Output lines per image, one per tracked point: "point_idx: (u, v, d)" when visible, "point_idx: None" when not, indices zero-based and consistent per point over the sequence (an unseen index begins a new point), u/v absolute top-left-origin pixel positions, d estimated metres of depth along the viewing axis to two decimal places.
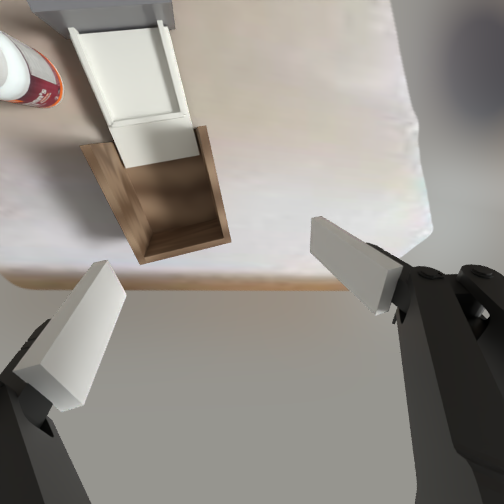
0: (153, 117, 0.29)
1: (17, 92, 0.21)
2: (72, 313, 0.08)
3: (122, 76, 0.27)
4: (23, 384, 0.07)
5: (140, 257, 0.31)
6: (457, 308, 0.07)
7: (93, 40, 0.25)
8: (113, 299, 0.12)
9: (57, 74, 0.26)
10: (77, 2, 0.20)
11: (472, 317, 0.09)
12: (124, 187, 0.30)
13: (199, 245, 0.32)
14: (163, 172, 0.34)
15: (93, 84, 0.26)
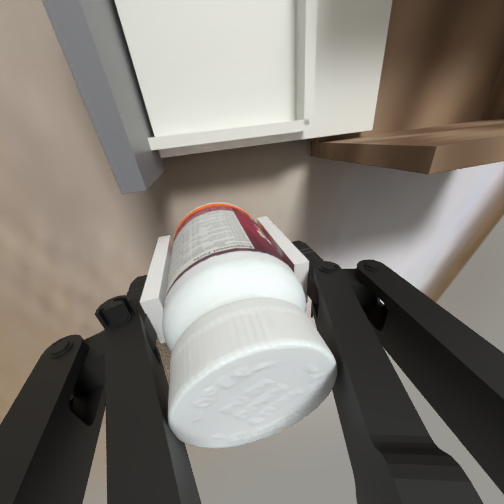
0: None
1: (299, 284, 0.08)
2: (163, 269, 0.11)
3: (215, 66, 0.11)
4: (143, 314, 0.09)
5: None
6: (352, 295, 0.08)
7: (159, 111, 0.12)
8: None
9: (211, 205, 0.13)
10: (88, 64, 0.07)
11: (374, 306, 0.10)
12: (441, 131, 0.13)
13: None
14: (395, 42, 0.14)
15: (239, 135, 0.12)
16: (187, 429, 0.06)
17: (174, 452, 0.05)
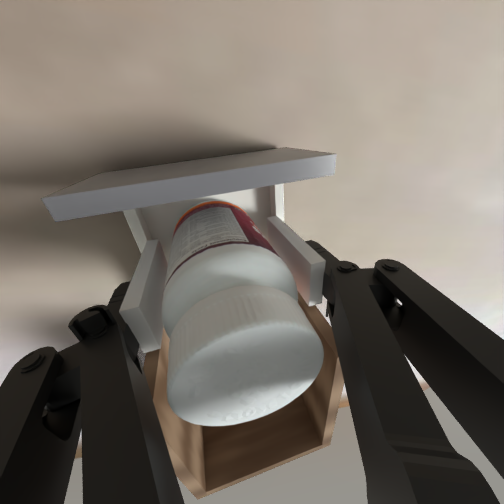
0: None
1: (291, 276, 0.09)
2: (147, 275, 0.10)
3: None
4: (123, 324, 0.09)
5: (200, 493, 0.19)
6: (370, 295, 0.08)
7: None
8: (165, 272, 0.14)
9: (209, 203, 0.14)
10: (156, 195, 0.09)
11: (391, 306, 0.10)
12: None
13: (286, 460, 0.21)
14: None
15: None
16: (184, 405, 0.06)
17: (156, 464, 0.05)
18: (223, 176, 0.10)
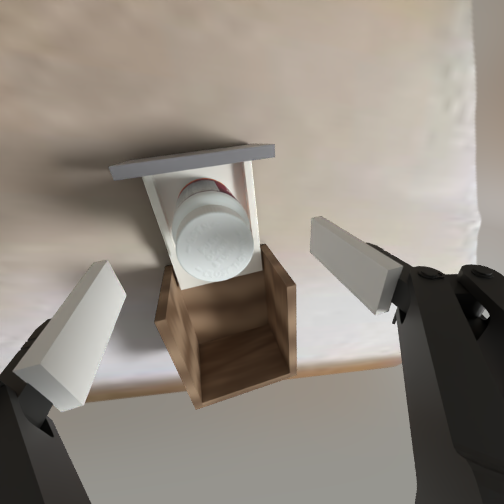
0: None
1: (243, 210, 0.16)
2: (72, 313, 0.08)
3: None
4: (23, 384, 0.07)
5: (198, 403, 0.26)
6: (457, 308, 0.07)
7: (167, 176, 0.21)
8: (113, 299, 0.12)
9: (201, 178, 0.21)
10: (168, 166, 0.16)
11: (472, 317, 0.09)
12: (183, 324, 0.26)
13: (262, 383, 0.28)
14: (220, 290, 0.30)
15: (162, 222, 0.22)
16: (183, 256, 0.13)
17: None
18: (207, 156, 0.17)
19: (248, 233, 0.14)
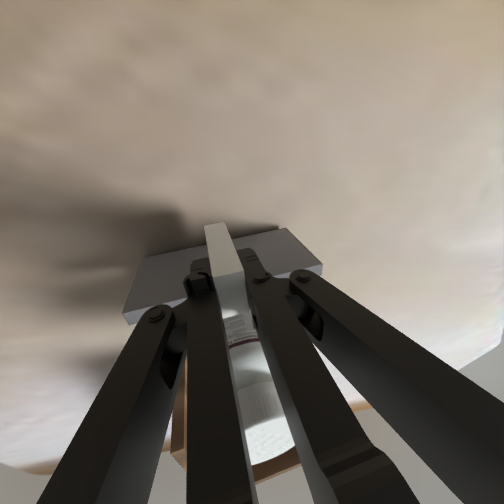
0: None
1: None
2: (221, 251, 0.12)
3: None
4: None
5: None
6: (285, 302, 0.08)
7: None
8: None
9: None
10: None
11: (311, 314, 0.10)
12: None
13: (286, 469, 0.25)
14: None
15: None
16: None
17: (240, 424, 0.05)
18: None
19: None
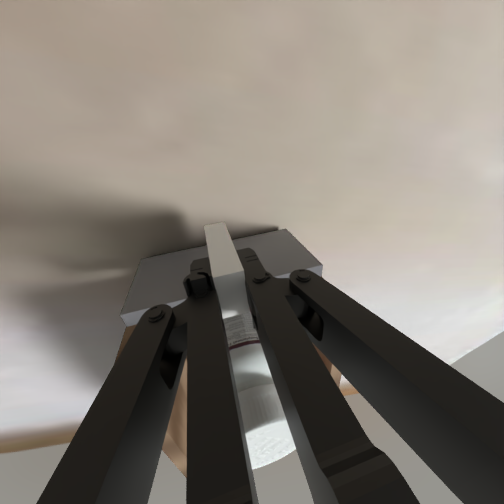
0: None
1: None
2: (221, 251, 0.12)
3: None
4: None
5: None
6: (285, 302, 0.08)
7: None
8: None
9: None
10: None
11: (311, 314, 0.10)
12: None
13: None
14: None
15: None
16: None
17: (240, 424, 0.05)
18: None
19: None
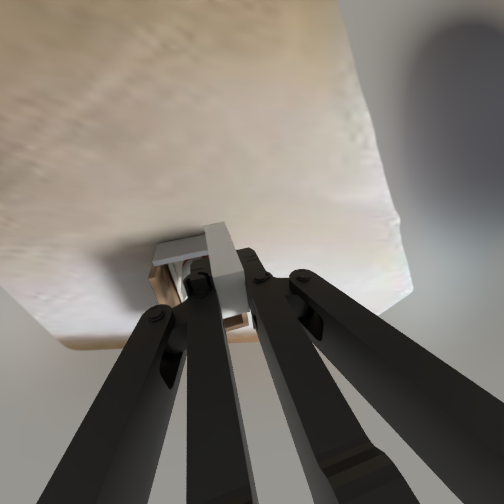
0: None
1: None
2: (221, 251, 0.12)
3: None
4: None
5: None
6: (284, 302, 0.08)
7: None
8: None
9: None
10: (179, 258, 0.35)
11: (311, 314, 0.10)
12: (169, 287, 0.39)
13: None
14: None
15: (174, 275, 0.40)
16: None
17: (240, 424, 0.05)
18: (197, 253, 0.35)
19: None
